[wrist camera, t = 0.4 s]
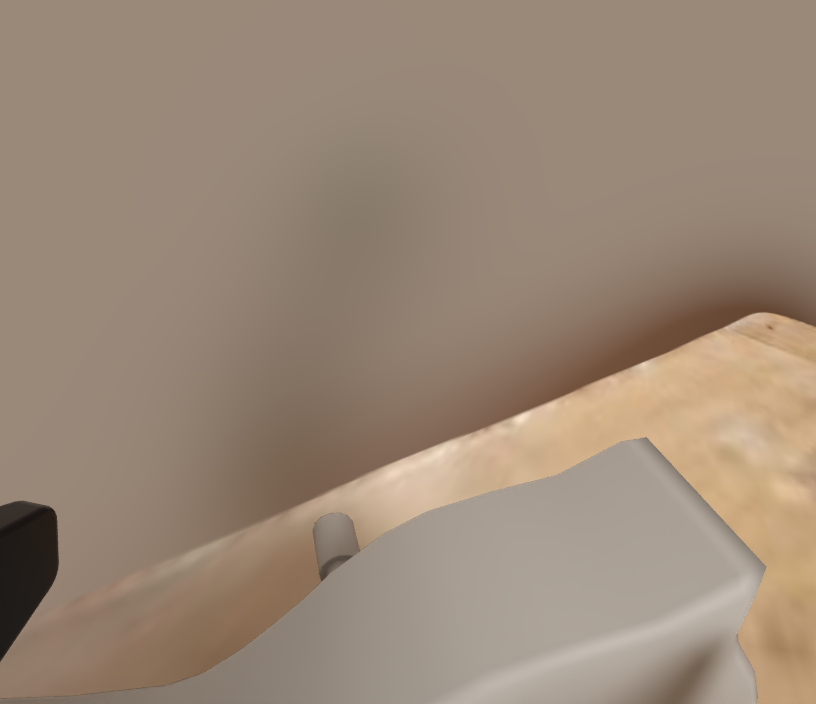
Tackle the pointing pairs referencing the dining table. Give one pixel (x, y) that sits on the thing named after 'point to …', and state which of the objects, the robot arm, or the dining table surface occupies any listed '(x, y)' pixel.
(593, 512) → the pony
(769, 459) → the dining table surface
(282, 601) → the dining table surface
